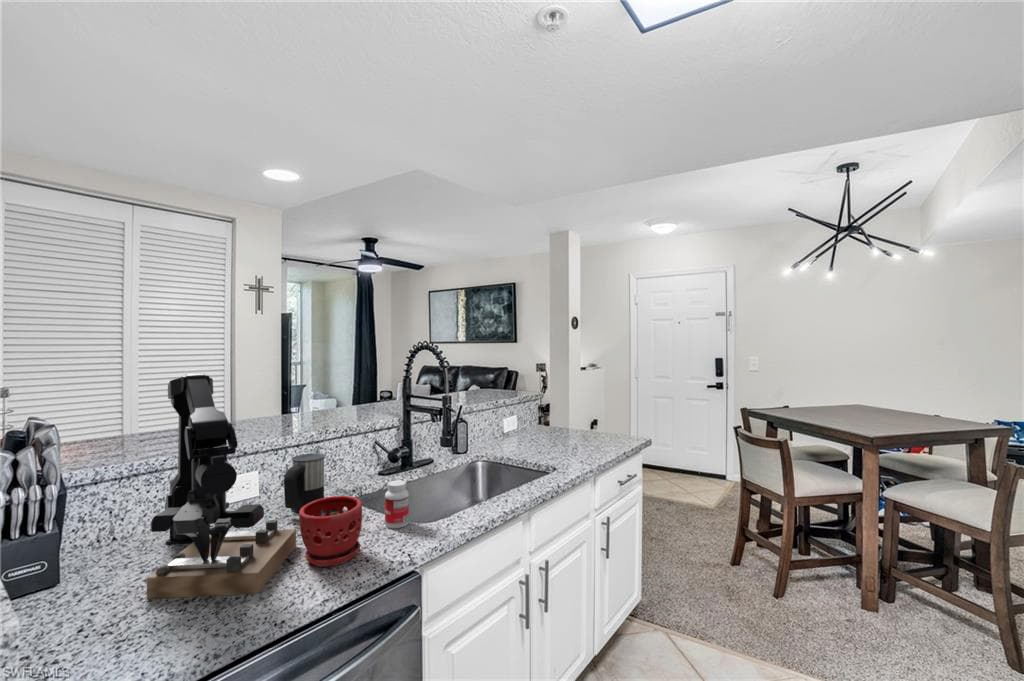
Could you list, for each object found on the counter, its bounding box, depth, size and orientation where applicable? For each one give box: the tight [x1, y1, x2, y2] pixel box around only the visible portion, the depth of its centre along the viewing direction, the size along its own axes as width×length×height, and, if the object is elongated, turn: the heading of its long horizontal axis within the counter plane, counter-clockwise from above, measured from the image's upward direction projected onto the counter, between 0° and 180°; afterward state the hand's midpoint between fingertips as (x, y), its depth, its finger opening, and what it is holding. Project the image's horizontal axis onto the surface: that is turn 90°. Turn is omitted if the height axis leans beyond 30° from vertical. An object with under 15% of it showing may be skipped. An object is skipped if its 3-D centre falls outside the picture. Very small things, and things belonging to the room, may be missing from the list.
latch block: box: [146, 519, 297, 600], centre depth 101 cm, size 20×21×6 cm
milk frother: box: [283, 453, 345, 513], centre depth 136 cm, size 14×16×15 cm
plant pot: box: [298, 495, 363, 567], centre depth 107 cm, size 13×13×12 cm
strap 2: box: [210, 529, 274, 541], centre depth 108 cm, size 14×3×1 cm, turn 96°
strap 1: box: [168, 556, 249, 570], centre depth 95 cm, size 14×3×1 cm, turn 96°
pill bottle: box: [384, 479, 410, 529], centre depth 126 cm, size 6×6×11 cm
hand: (209, 560), depth 95 cm, fingers closed
